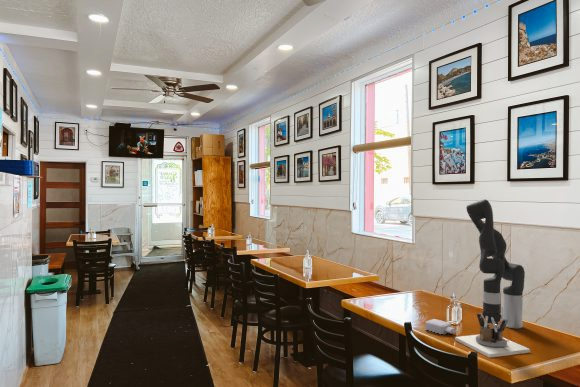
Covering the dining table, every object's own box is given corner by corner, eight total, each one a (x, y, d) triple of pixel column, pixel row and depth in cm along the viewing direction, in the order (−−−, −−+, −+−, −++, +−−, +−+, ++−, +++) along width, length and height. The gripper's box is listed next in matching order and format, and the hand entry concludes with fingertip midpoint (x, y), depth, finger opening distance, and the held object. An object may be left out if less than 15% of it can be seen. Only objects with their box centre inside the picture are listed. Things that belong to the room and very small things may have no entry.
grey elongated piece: (451, 338, 203) (425, 330, 214) (461, 334, 208) (435, 327, 220) (451, 329, 203) (425, 321, 214) (461, 325, 208) (435, 318, 220)
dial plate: (455, 340, 200) (455, 336, 200) (492, 336, 206) (492, 332, 206) (489, 357, 179) (489, 353, 179) (529, 352, 185) (529, 348, 185)
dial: (487, 348, 185) (487, 333, 185) (469, 338, 198) (470, 324, 198) (513, 346, 187) (513, 331, 187) (494, 337, 200) (494, 322, 200)
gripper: (472, 299, 196) (472, 335, 196) (503, 306, 184) (503, 344, 184) (481, 297, 200) (481, 332, 200) (511, 303, 189) (511, 341, 189)
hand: (491, 338), depth 192 cm, fingers closed on dial, 3 cm apart
